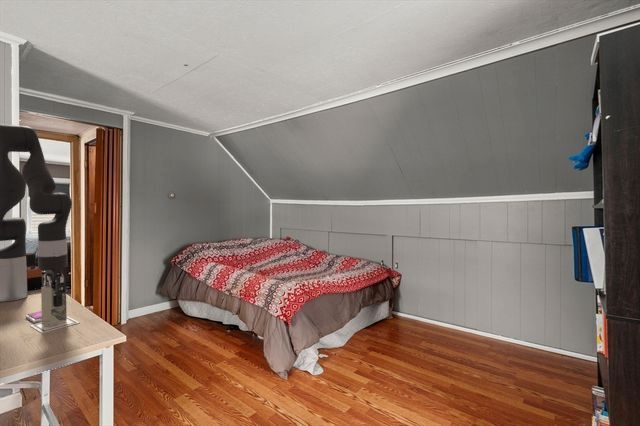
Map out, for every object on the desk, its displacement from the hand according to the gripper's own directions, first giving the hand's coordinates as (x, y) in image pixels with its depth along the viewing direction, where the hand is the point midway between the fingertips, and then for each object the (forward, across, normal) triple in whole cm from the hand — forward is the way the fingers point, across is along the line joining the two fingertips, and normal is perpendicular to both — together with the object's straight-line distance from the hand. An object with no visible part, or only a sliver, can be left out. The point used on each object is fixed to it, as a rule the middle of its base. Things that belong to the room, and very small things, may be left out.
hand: (54, 304), depth 107 cm
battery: (+7, -57, +11) cm, 58 cm away
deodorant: (+7, -65, +11) cm, 66 cm away
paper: (+7, 0, 0) cm, 7 cm away
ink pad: (+7, -11, 0) cm, 13 cm away
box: (+7, 0, 0) cm, 7 cm away
